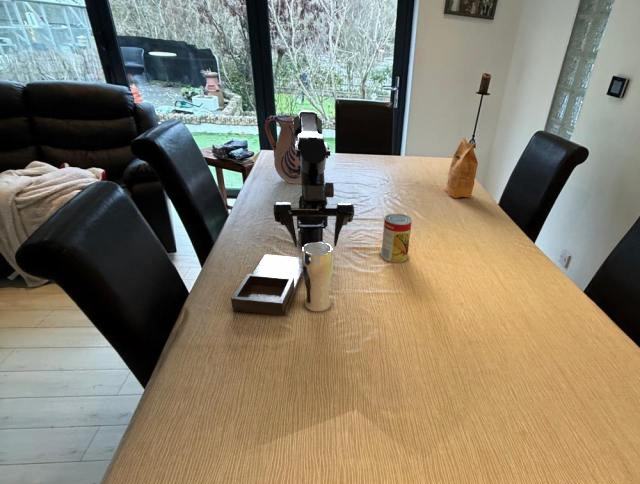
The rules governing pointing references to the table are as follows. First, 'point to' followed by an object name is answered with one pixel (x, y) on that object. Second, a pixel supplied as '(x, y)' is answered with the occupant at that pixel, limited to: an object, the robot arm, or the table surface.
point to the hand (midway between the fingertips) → (315, 246)
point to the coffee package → (462, 171)
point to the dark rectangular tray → (269, 286)
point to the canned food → (396, 237)
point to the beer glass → (317, 274)
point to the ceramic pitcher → (285, 149)
